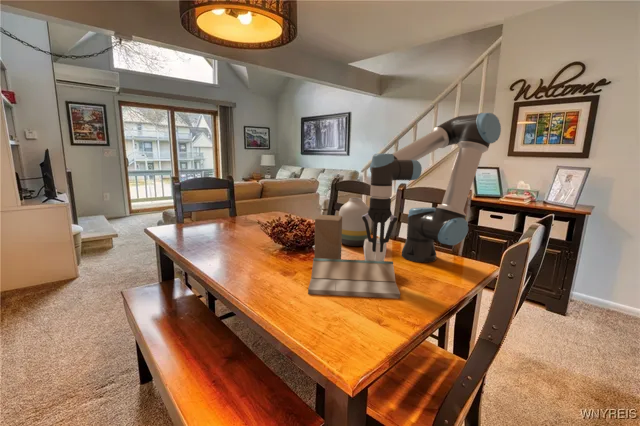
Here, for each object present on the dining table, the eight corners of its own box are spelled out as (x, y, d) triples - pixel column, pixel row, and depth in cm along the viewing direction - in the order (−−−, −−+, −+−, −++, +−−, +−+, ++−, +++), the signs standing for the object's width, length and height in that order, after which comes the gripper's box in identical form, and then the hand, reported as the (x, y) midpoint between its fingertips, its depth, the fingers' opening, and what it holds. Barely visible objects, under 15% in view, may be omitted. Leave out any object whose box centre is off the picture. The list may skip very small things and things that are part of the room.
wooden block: (337, 268, 125) (339, 220, 122) (314, 266, 127) (314, 219, 123) (341, 260, 135) (342, 215, 131) (319, 258, 137) (319, 214, 133)
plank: (392, 264, 116) (393, 261, 115) (394, 284, 109) (395, 281, 108) (313, 260, 118) (313, 257, 117) (311, 280, 112) (311, 277, 110)
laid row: (395, 286, 108) (395, 282, 108) (399, 298, 99) (400, 293, 99) (311, 282, 110) (311, 278, 110) (308, 293, 101) (308, 289, 101)
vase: (331, 243, 160) (332, 198, 155) (350, 237, 172) (351, 195, 168) (358, 250, 149) (360, 201, 144) (376, 243, 161) (378, 198, 157)
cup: (386, 267, 127) (388, 239, 125) (383, 274, 119) (385, 245, 117) (365, 264, 130) (366, 236, 128) (360, 271, 122) (361, 242, 120)
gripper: (397, 196, 113) (393, 257, 117) (361, 195, 114) (358, 256, 118) (400, 199, 105) (396, 264, 110) (362, 198, 106) (359, 262, 111)
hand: (376, 260), depth 114 cm, fingers closed
